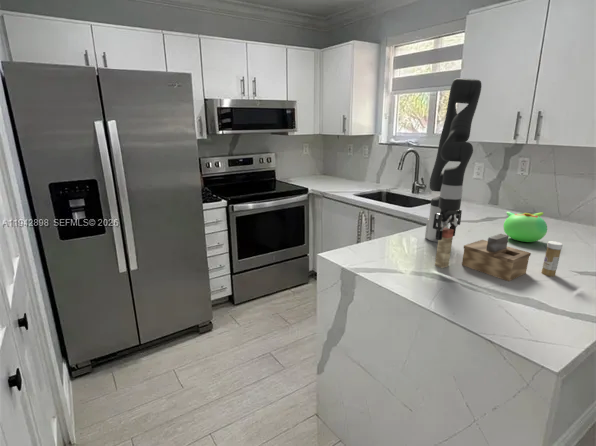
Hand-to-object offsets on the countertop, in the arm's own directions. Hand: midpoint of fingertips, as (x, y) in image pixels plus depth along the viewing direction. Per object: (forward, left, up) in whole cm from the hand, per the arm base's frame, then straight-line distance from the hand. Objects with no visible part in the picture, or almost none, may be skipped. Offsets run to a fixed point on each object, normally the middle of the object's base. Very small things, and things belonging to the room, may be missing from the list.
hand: (445, 237), depth 136 cm
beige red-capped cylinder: (0, 0, -13) cm, 13 cm away
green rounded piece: (+1, +65, -13) cm, 66 cm away
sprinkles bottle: (+27, +27, -13) cm, 40 cm away
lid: (+13, +14, -5) cm, 20 cm away
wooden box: (+13, +14, -13) cm, 23 cm away
